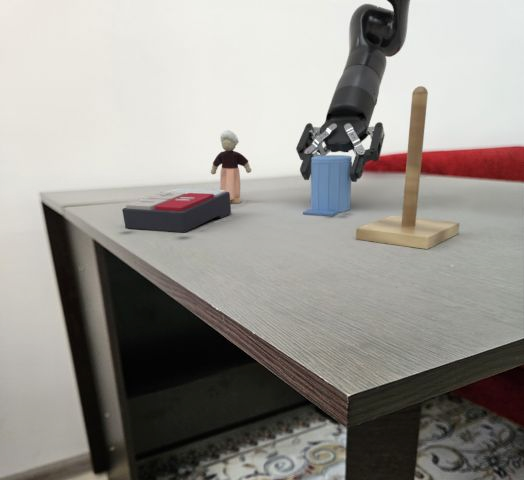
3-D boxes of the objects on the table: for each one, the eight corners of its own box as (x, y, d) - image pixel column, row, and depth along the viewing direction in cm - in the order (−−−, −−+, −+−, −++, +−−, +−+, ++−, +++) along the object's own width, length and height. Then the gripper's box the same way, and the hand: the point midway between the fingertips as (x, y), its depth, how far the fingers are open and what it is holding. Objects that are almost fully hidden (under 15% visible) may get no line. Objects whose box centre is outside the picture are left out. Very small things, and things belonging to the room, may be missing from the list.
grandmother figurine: (211, 204, 98) (206, 131, 92) (213, 201, 101) (208, 130, 96) (252, 203, 98) (249, 130, 92) (252, 200, 101) (250, 129, 96)
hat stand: (390, 225, 76) (400, 88, 69) (458, 234, 70) (477, 84, 63) (355, 239, 69) (362, 88, 62) (427, 249, 63) (444, 83, 56)
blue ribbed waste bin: (319, 205, 94) (320, 154, 90) (354, 207, 91) (357, 155, 88) (298, 214, 87) (298, 159, 83) (336, 216, 84) (338, 160, 80)
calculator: (119, 203, 79) (174, 185, 91) (124, 232, 81) (177, 210, 93) (181, 207, 74) (230, 186, 86) (185, 236, 76) (232, 213, 88)
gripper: (310, 85, 91) (282, 161, 87) (391, 81, 85) (365, 163, 80) (321, 118, 97) (296, 190, 93) (397, 116, 91) (373, 194, 87)
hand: (328, 177), depth 87 cm, fingers open, 8 cm apart
